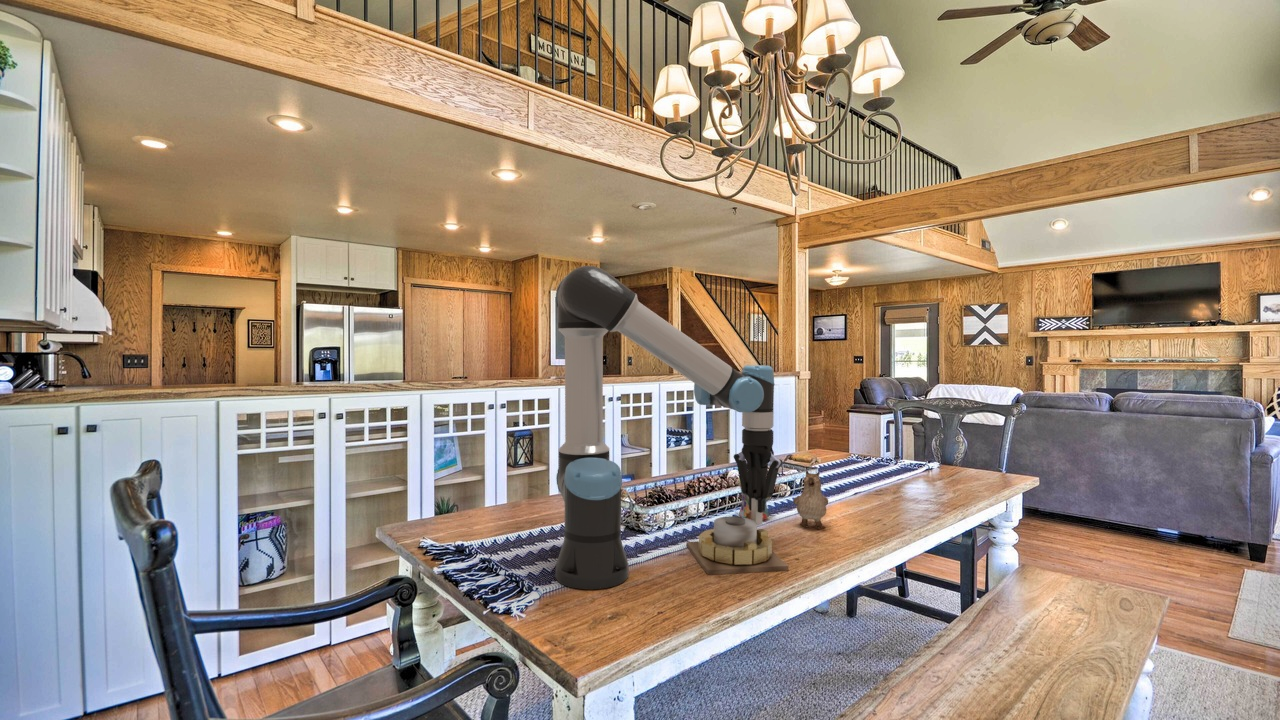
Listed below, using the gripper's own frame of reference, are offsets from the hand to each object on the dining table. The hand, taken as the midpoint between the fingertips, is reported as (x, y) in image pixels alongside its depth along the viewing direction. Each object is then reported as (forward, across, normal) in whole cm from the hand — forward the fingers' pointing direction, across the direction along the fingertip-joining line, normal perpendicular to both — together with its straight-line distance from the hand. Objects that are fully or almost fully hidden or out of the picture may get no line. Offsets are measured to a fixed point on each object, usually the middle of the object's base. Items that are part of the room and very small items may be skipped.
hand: (756, 524), depth 146 cm
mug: (+5, +12, -18) cm, 23 cm away
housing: (+5, -3, +12) cm, 14 cm away
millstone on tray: (+3, -1, +9) cm, 10 cm away
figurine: (+5, -2, -22) cm, 22 cm away
